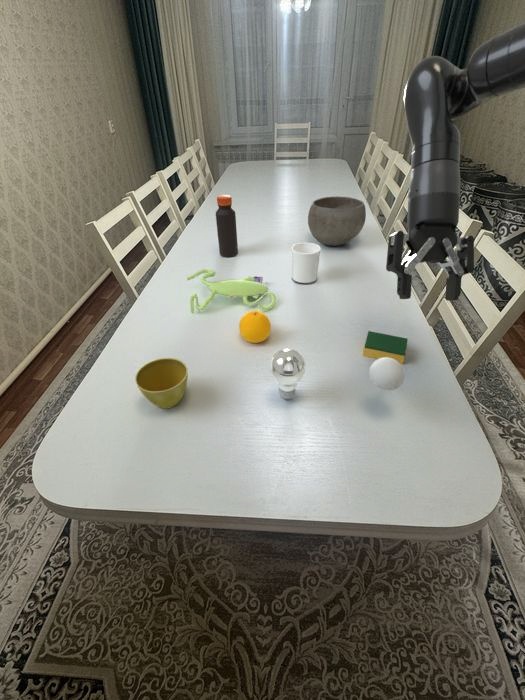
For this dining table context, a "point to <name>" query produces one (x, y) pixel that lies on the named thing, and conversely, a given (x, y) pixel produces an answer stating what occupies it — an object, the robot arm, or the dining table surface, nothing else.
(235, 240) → the bottle
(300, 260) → the mug
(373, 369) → the lollipop
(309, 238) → the dining table surface
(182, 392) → the flower pot
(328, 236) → the bowl
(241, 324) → the orange
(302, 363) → the light bulb
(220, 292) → the figurine
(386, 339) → the sponge
